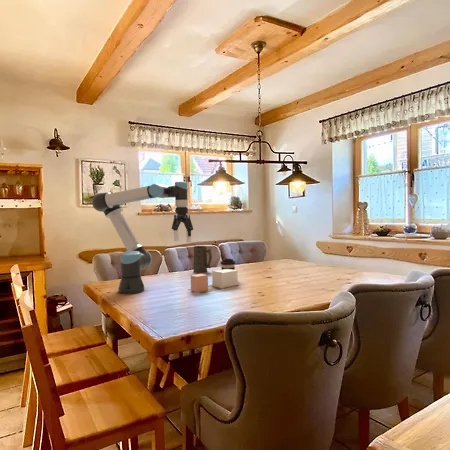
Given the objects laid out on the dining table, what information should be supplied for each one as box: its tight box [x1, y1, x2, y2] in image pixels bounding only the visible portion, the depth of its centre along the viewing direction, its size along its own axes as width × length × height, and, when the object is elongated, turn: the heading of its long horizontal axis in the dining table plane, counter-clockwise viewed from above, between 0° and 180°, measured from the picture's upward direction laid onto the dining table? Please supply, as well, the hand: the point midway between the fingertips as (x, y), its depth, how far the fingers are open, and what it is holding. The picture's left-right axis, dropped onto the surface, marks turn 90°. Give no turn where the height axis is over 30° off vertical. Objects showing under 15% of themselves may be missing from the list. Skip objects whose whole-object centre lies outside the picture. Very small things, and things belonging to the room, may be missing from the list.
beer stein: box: [193, 245, 213, 274], centre depth 276 cm, size 15×11×20 cm
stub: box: [190, 273, 209, 293], centre depth 208 cm, size 8×6×9 cm
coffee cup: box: [220, 258, 236, 270], centre depth 236 cm, size 10×10×15 cm
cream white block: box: [211, 269, 239, 288], centre depth 221 cm, size 13×9×9 cm
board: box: [187, 284, 241, 294], centre depth 215 cm, size 30×14×1 cm, turn 131°
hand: (182, 241), depth 220 cm, fingers open, 13 cm apart
